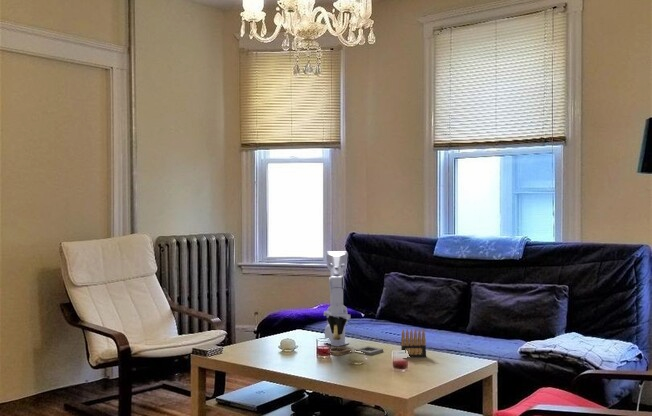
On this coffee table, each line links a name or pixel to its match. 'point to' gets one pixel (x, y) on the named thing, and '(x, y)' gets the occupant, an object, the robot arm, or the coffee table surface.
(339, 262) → the robot arm
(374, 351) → the socket block
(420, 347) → the ammunition clip
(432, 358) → the coffee table surface
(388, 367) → the coffee table surface
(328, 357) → the coffee table surface
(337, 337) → the brass peg
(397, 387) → the coffee table surface
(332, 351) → the rack block
